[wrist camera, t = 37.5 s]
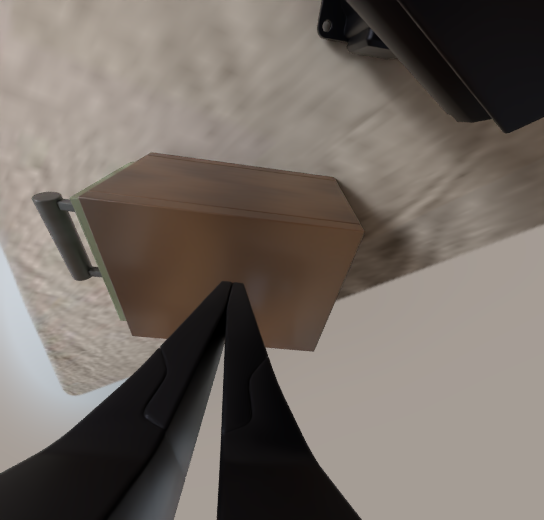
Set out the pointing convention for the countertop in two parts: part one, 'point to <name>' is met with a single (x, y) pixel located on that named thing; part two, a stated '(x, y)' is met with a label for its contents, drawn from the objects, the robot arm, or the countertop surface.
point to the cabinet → (223, 243)
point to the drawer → (75, 236)
